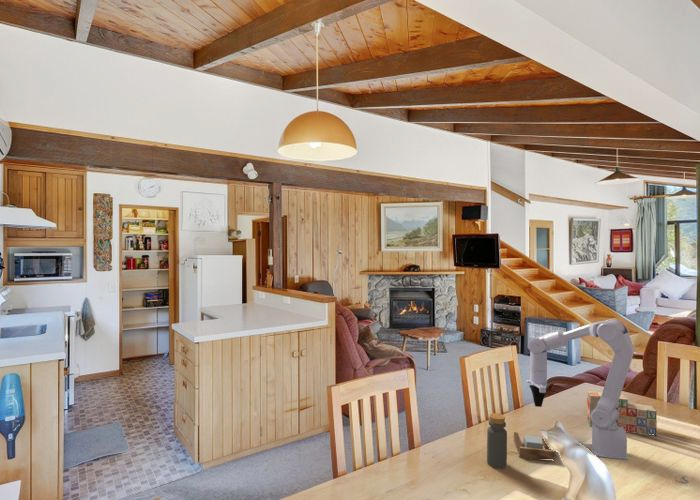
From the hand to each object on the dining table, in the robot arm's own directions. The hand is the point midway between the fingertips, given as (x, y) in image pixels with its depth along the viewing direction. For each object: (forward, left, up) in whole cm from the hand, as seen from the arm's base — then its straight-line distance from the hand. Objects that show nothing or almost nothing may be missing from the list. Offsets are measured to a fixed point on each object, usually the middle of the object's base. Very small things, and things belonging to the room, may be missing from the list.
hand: (538, 406), depth 154 cm
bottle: (+18, +29, -10) cm, 35 cm away
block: (+5, +17, -10) cm, 20 cm away
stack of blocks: (-31, -11, -10) cm, 35 cm away
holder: (+5, +16, -9) cm, 19 cm away
